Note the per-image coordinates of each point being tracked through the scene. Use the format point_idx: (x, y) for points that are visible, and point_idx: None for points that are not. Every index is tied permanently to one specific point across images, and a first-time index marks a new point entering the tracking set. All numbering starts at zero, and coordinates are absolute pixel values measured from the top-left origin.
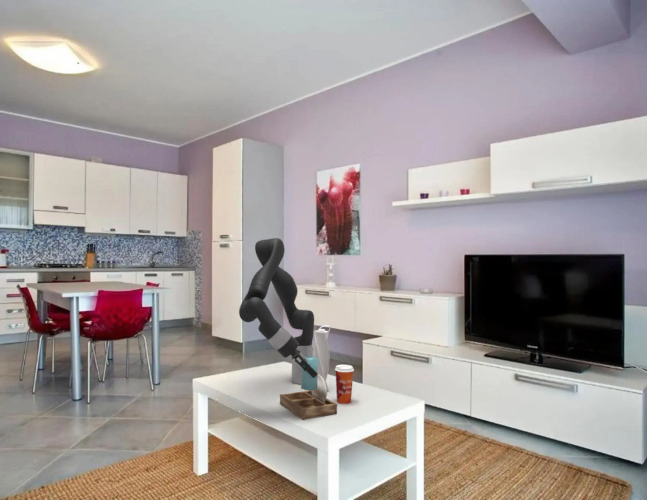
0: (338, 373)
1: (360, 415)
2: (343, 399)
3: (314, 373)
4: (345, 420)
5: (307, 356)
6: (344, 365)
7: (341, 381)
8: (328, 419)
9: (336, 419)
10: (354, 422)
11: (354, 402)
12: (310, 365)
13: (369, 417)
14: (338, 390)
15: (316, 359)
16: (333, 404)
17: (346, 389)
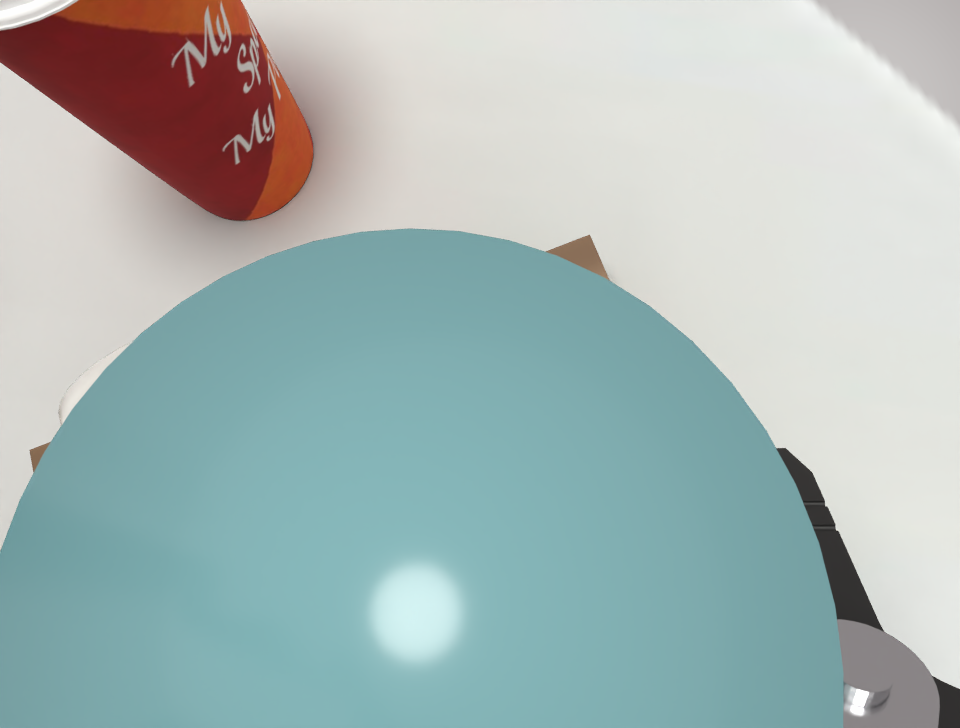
0: (102, 13)
1: (649, 72)
2: (296, 150)
3: (809, 500)
4: (782, 221)
5: (38, 719)
6: None
7: (200, 51)
8: (747, 378)
9: (750, 301)
10: (840, 150)
11: (287, 71)
12: (884, 658)
13: (708, 7)
14: (223, 151)
15: (682, 337)
16: (598, 274)
17: (263, 58)
